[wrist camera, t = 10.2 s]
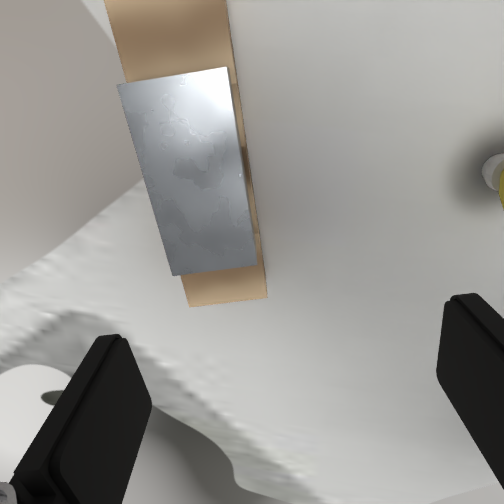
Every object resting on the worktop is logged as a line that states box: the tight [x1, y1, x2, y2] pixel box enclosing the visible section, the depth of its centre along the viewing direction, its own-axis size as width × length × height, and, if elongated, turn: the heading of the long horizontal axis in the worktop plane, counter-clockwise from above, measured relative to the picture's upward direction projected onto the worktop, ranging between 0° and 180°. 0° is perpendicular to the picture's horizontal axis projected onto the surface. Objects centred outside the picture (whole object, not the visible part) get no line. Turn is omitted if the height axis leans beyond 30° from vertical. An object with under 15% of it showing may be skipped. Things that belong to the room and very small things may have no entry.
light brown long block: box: [104, 0, 267, 307], centre depth 27 cm, size 24×7×4 cm, turn 8°
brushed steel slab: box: [117, 67, 257, 276], centre depth 25 cm, size 13×6×6 cm, turn 8°
